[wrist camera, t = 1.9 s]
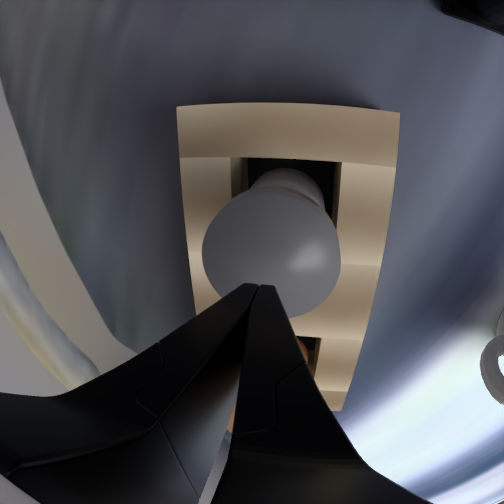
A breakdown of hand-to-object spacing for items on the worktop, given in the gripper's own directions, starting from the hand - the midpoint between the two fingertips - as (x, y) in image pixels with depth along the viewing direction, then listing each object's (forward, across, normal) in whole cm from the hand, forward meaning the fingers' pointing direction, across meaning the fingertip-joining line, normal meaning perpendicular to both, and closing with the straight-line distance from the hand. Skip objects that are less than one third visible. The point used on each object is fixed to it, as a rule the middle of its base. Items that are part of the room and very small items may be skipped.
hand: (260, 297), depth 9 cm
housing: (+11, 0, +5) cm, 12 cm away
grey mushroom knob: (+8, 0, 0) cm, 8 cm away
